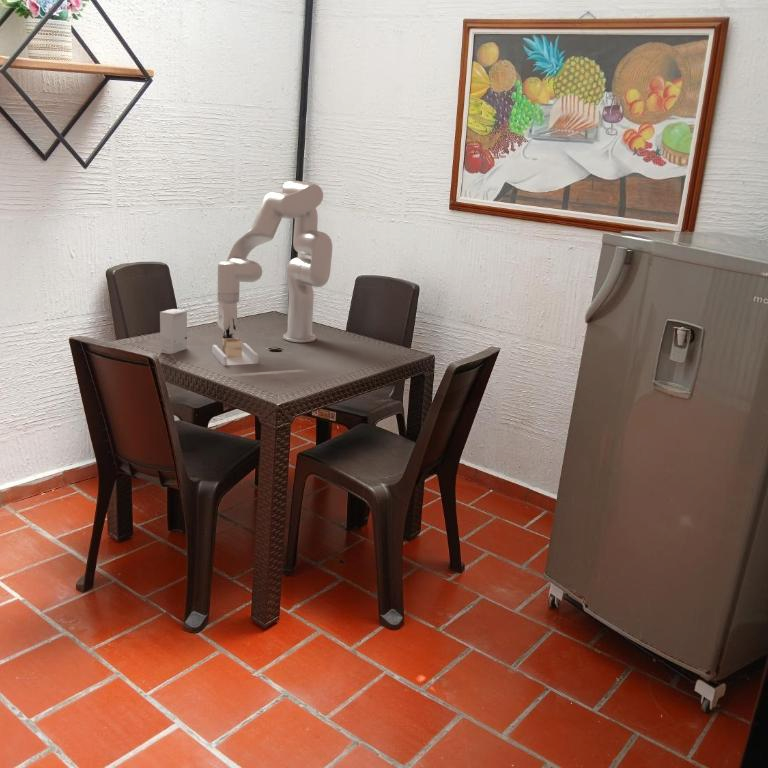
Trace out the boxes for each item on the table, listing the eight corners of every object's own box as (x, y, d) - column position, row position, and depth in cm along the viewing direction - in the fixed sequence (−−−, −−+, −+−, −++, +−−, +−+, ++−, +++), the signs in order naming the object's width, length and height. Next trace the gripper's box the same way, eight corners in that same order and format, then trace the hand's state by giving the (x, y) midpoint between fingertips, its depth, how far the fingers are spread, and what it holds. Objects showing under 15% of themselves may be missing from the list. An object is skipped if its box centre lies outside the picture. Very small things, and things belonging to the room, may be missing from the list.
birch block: (222, 353, 285) (222, 338, 283) (237, 352, 287) (237, 337, 285) (226, 357, 280) (226, 342, 278) (241, 356, 283) (242, 341, 281)
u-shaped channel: (212, 355, 285) (212, 344, 284) (245, 353, 290) (245, 343, 289) (223, 367, 272) (223, 356, 271) (257, 365, 277) (258, 354, 276)
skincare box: (173, 355, 281) (173, 314, 276) (159, 352, 283) (158, 311, 278) (188, 350, 288) (188, 309, 283) (174, 347, 290) (173, 307, 286)
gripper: (212, 292, 287) (212, 342, 293) (223, 302, 274) (222, 353, 280) (233, 292, 290) (232, 341, 296) (244, 301, 278) (243, 352, 283)
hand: (227, 347), depth 288 cm, fingers closed
